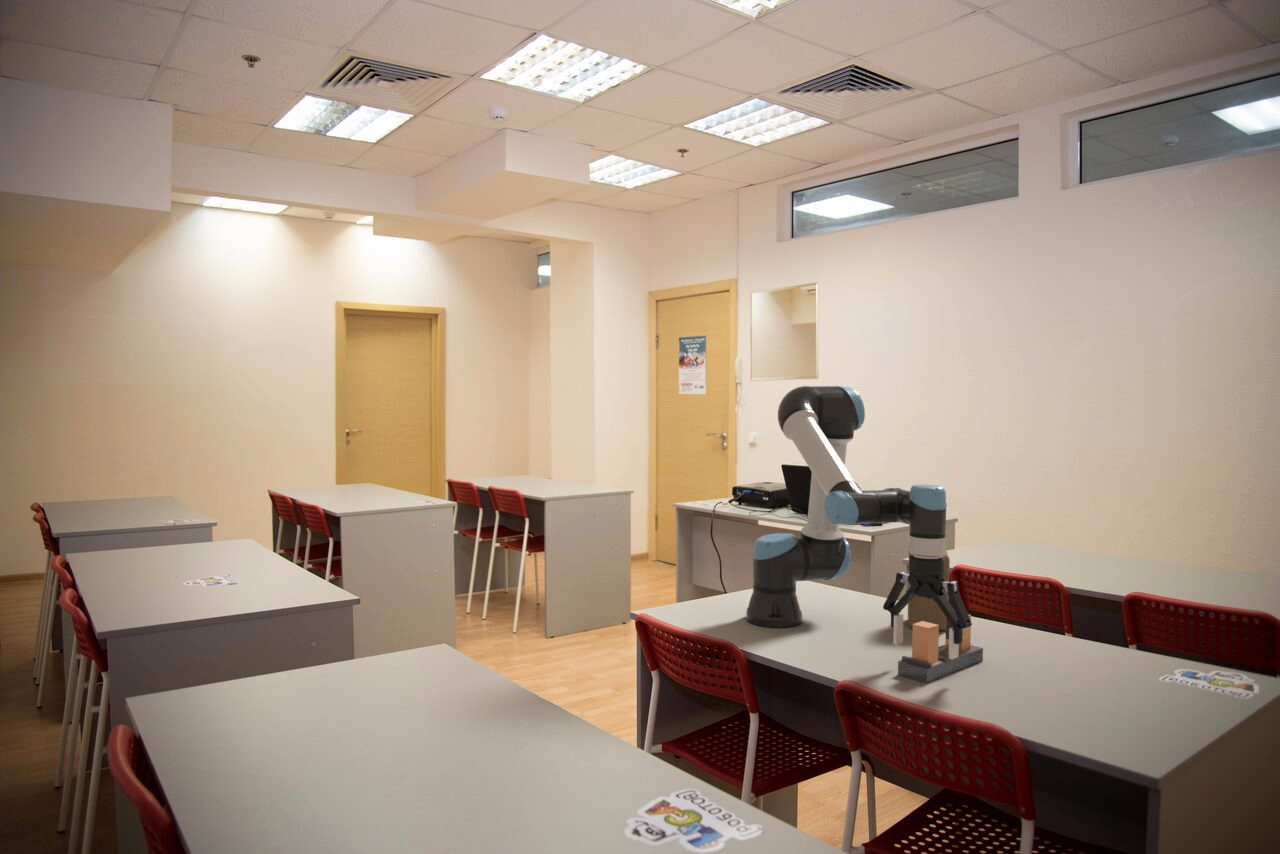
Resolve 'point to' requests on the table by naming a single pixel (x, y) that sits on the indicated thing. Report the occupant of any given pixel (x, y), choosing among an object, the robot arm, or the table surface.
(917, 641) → the tall peach prism
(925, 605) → the wooden block
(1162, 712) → the table surface
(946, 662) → the rail
